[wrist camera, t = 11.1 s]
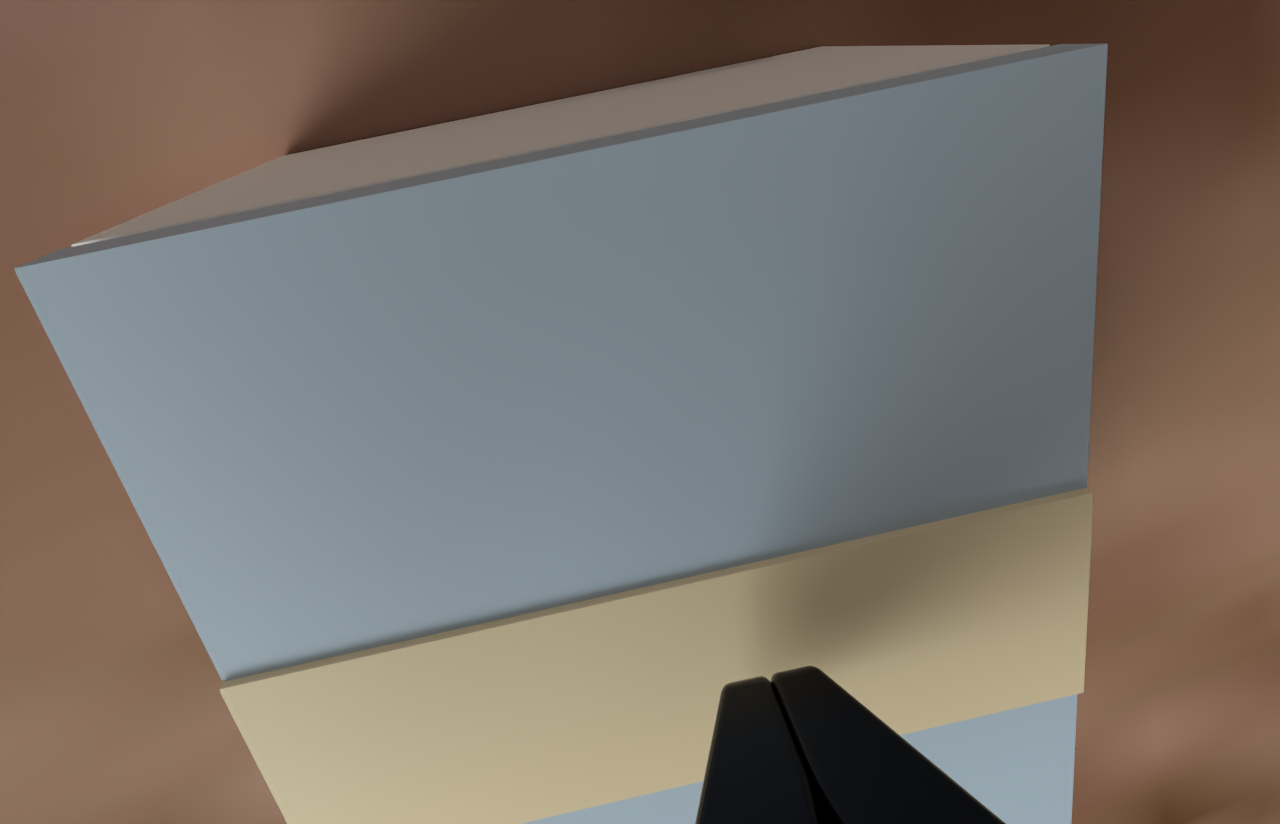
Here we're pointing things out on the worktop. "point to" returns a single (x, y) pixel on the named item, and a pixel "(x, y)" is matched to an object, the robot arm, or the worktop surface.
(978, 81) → the lid
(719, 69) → the keepsake box
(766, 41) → the worktop surface
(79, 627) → the worktop surface
